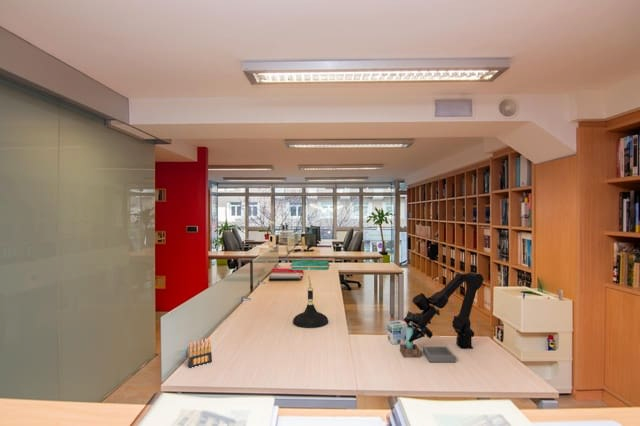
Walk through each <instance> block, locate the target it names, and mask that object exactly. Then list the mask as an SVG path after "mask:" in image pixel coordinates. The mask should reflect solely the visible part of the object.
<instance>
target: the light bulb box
mask: <svg viewBox="0 0 640 426" xmlns="http://www.w3.org/2000/svg"><path fill="white" fill-rule="evenodd" d="M406 327H408V326H407V323H406V322H405V321H404V319H400V320H388V321H387V341H388V342H389V343H390V344H391V345H400V344H406V339H405V335H406Z"/></svg>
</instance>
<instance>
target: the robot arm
mask: <svg viewBox="0 0 640 426" xmlns="http://www.w3.org/2000/svg"><path fill="white" fill-rule="evenodd" d="M484 280H485V279H484V277H483V275H482V274H481V273H478V272H473V271H469V272H468V273H461V272H459V273H456V274H455V276H454V277H453V278H452V279H450V281H449V282H448V284H446V285H445V286H444V287H443V288H442V289H441V290H440V291H437V292H435V293H434V294H432V295H431V296H430V297H429V296H428V297H427V296H426V295H425V294H424V293H422V292H420V293H419V294H417V295H415V296H414V297H413V298H412V303H413V305H414V306H416V307H417V309H418V310H419V311H421V312H416V313H414V312H413V311H412V312H411V311H407V314H406V316H405V317H404V318H403V320H404V321H405V322H406V323H407V326H408V327H412V328H413V334H412V336H411V337H410V339H409V342H412V341H413V342H414V341H416V340H418V339H421V338H425V337H427V338H428V339H432V337H433V331H431V330H430V328H428V327H427V326H428V325H431V324H432V322H431V321H432V320H433V318H434V316H435V315H437V316H441V312H440V309H444V308H445V307H446V305H447V304H448V302H449V298H450V297H451V296H452V295H453V294H454V293H455V292H456V291H457V290H458V289H459V288H460V287H461V286H462V285H463V284H464V283H465V286H466V290H465V293H464V297H463V299H462V304H461V307H460V310H459V314H457V315H454V316H453V320H452V322H451V323H452V328H453V330H454V331H455V332H454V333H456V334H457V336H455V337H456V339H455V341H456V343H455V344H456V346H458V348H459V349H474V347H473V346H472V338H474V337H475V336H474V335H475V331H473V330H472V329H471V320H470V315H471V313H472V308H473V304H474V302H475V299H476V298H475V297H476V294H477V291H478V290H479V289H480V288H481V287H482V286H483V285H482V284H483V283H484ZM405 339H406V335H405Z"/></svg>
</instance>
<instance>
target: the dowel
mask: <svg viewBox="0 0 640 426" xmlns="http://www.w3.org/2000/svg"><path fill="white" fill-rule="evenodd" d="M412 334H413V328H412V327H406V343H405V344H406V349H413V344H414V341H412V342H409V339H410V337H411V336H412Z"/></svg>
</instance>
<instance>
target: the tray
mask: <svg viewBox="0 0 640 426" xmlns="http://www.w3.org/2000/svg"><path fill="white" fill-rule="evenodd" d="M422 354H423V355H424V357H425V358H426V359H427V361H428V362H429V363H430V364H432V363H435V364H439V363H441V364H452V363H453V364H454V363H456V356H455V354H454V353H453V352H452V351H451V350H450V348H449V347H448V346H422Z"/></svg>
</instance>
